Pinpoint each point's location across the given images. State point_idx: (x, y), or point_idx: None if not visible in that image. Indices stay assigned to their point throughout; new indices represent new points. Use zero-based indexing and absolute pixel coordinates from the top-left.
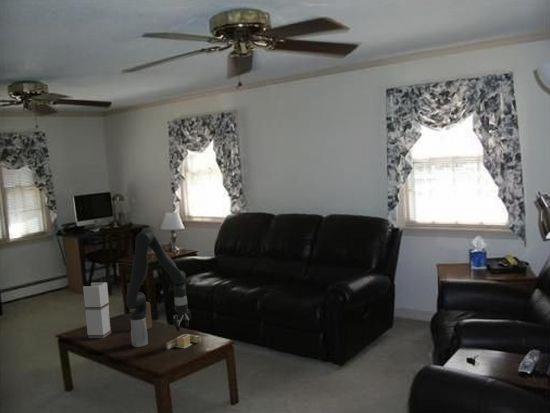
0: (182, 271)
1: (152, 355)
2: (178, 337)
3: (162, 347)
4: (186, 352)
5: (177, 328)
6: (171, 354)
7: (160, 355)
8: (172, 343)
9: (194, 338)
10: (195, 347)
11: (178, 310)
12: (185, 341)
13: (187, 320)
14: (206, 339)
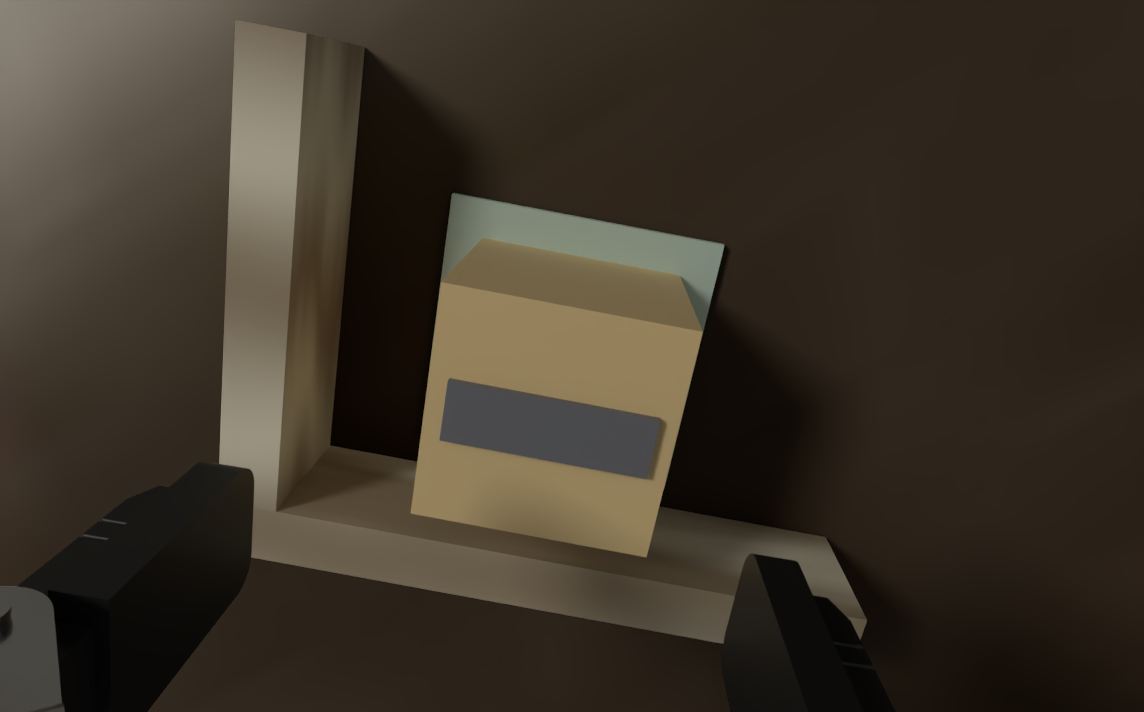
0: None
1: (1120, 674)
2: (639, 518)
3: None
4: (950, 74)
5: (867, 679)
6: (1074, 357)
7: (1124, 541)
8: (714, 562)
9: (318, 206)
10: (623, 12)
11: None
12: (636, 294)
13: (66, 651)
14: (90, 3)
